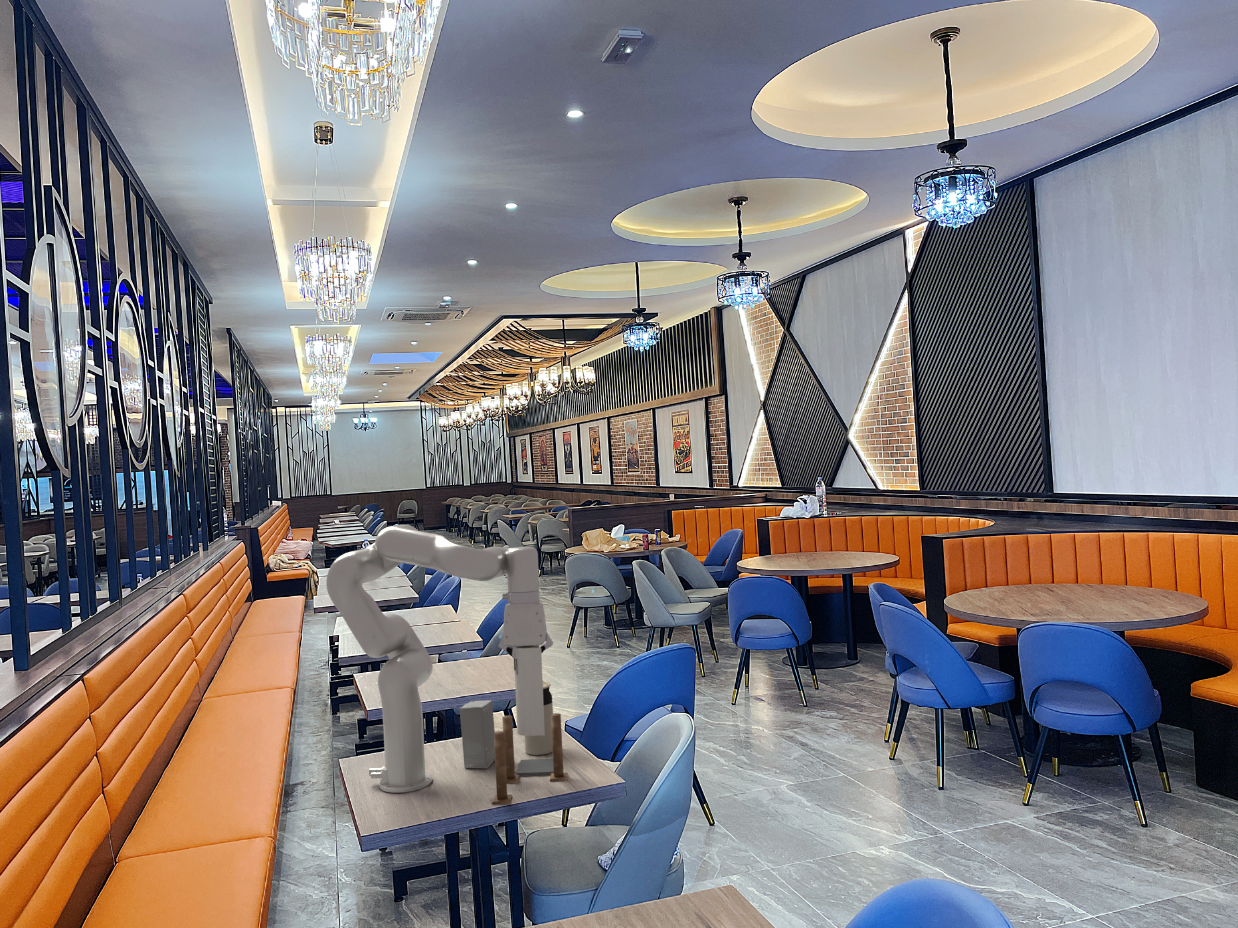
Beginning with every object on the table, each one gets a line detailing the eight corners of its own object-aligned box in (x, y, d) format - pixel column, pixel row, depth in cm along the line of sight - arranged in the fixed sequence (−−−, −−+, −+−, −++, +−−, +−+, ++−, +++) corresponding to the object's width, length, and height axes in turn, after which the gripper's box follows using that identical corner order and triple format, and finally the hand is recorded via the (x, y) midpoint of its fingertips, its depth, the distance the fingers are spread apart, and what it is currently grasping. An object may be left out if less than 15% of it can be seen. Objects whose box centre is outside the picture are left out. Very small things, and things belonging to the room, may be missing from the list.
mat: (515, 776, 213) (515, 773, 213) (521, 762, 223) (520, 759, 223) (555, 774, 212) (555, 771, 212) (559, 760, 222) (559, 757, 222)
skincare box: (487, 769, 219) (484, 707, 219) (460, 768, 220) (457, 707, 221) (498, 758, 227) (495, 698, 227) (472, 757, 229) (470, 698, 229)
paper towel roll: (515, 730, 209) (512, 643, 210) (540, 727, 211) (536, 641, 211) (519, 739, 202) (515, 649, 203) (544, 736, 204) (541, 646, 204)
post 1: (492, 804, 195) (489, 735, 195) (495, 797, 199) (491, 730, 199) (509, 803, 195) (506, 735, 195) (512, 796, 199) (508, 729, 199)
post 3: (550, 781, 208) (546, 717, 208) (551, 775, 212) (548, 712, 212) (566, 780, 208) (563, 716, 208) (567, 774, 212) (564, 711, 212)
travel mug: (527, 757, 227) (524, 689, 227) (523, 748, 234) (520, 682, 235) (557, 753, 229) (553, 686, 229) (552, 744, 236) (548, 679, 237)
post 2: (501, 783, 208) (497, 719, 208) (503, 777, 212) (500, 714, 212) (517, 782, 208) (514, 718, 208) (519, 776, 212) (516, 714, 212)
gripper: (487, 601, 204) (490, 678, 203) (556, 599, 203) (559, 676, 203) (493, 596, 211) (496, 671, 211) (559, 594, 211) (562, 668, 210)
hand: (527, 672), depth 207 cm, fingers closed on paper towel roll, 3 cm apart
